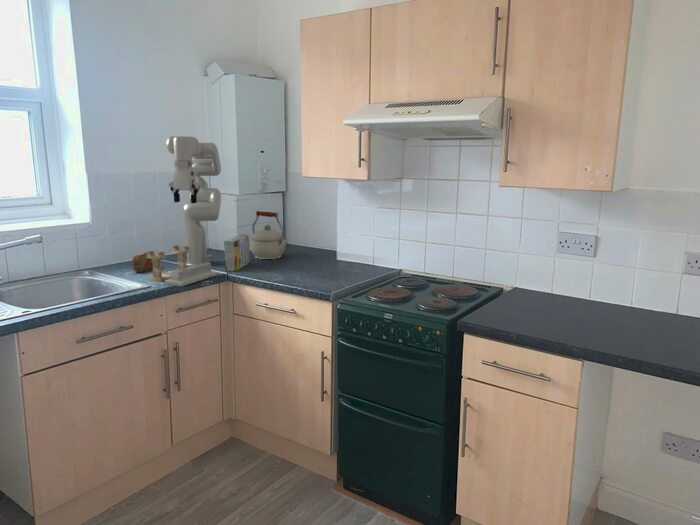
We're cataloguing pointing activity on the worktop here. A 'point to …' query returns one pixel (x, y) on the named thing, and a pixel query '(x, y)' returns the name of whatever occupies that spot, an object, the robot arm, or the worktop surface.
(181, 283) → the board
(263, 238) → the kettle
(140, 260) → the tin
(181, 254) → the rack
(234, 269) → the snack box
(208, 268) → the rail
